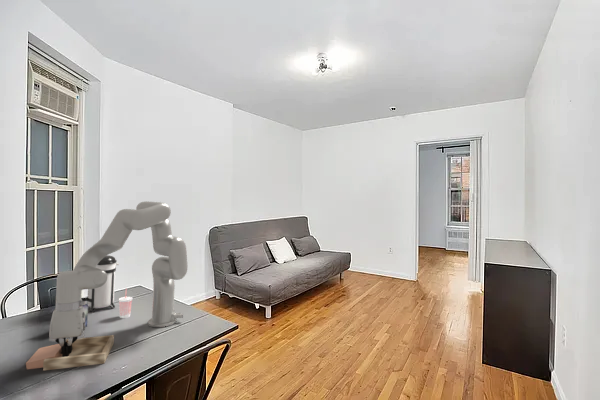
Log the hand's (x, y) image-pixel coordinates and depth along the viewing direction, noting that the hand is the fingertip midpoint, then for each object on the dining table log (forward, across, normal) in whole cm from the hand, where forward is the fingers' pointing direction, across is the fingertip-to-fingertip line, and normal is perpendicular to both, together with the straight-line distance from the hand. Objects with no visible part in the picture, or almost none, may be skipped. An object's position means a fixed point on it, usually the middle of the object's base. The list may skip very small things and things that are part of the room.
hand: (66, 355), depth 116 cm
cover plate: (+1, +6, 0) cm, 6 cm away
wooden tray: (+2, -5, 0) cm, 5 cm away
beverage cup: (+2, -13, -40) cm, 42 cm away
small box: (+2, +6, -28) cm, 29 cm away
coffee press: (+2, +2, -55) cm, 55 cm away
